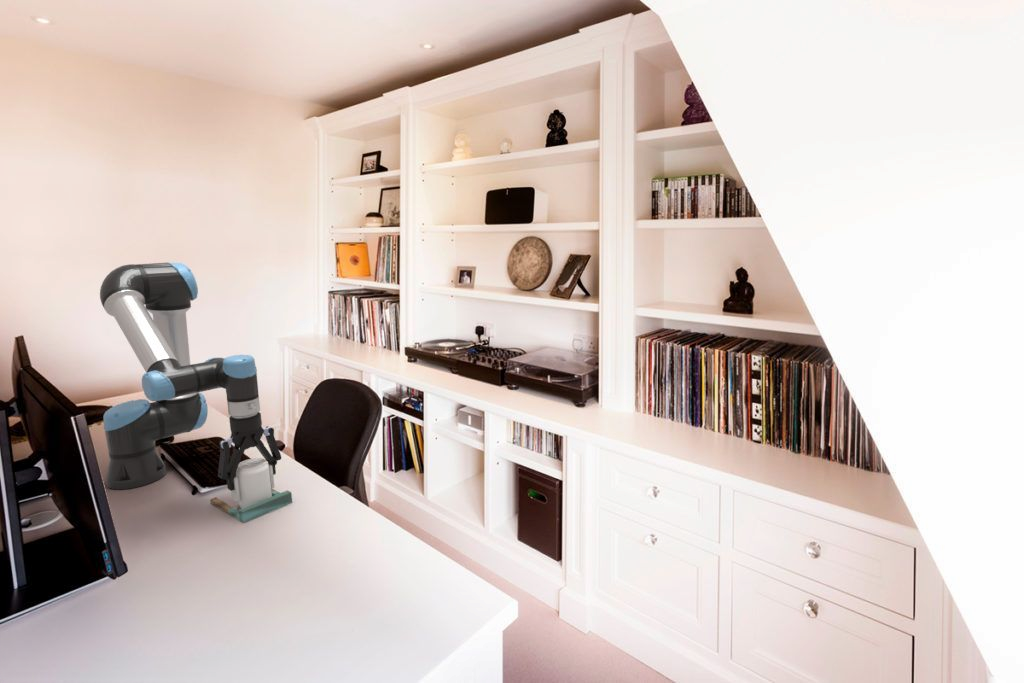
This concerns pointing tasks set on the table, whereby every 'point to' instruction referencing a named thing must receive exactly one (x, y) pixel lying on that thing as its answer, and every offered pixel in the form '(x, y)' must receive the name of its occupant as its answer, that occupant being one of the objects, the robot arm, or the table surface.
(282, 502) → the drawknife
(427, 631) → the table surface
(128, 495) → the table surface
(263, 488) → the beverage can
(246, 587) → the table surface
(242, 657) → the table surface
